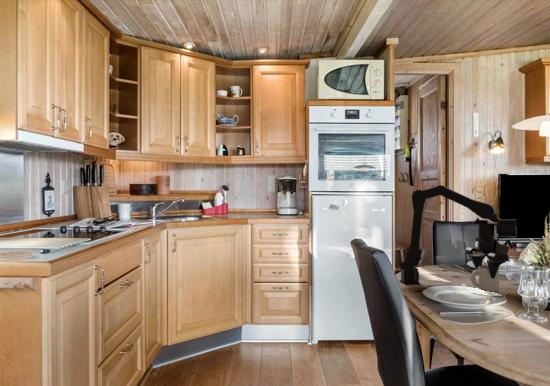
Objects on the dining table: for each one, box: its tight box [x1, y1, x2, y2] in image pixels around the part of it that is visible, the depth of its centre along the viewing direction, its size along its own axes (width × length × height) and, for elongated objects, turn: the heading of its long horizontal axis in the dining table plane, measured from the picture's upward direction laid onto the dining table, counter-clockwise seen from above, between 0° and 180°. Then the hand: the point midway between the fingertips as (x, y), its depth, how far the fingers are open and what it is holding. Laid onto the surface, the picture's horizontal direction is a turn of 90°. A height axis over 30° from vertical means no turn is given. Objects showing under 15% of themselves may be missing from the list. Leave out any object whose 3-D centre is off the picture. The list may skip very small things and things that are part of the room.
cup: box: [470, 264, 501, 292], centre depth 161 cm, size 7×10×9 cm
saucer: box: [467, 285, 509, 297], centre depth 160 cm, size 15×15×1 cm
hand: (486, 276), depth 160 cm, fingers open, 8 cm apart
